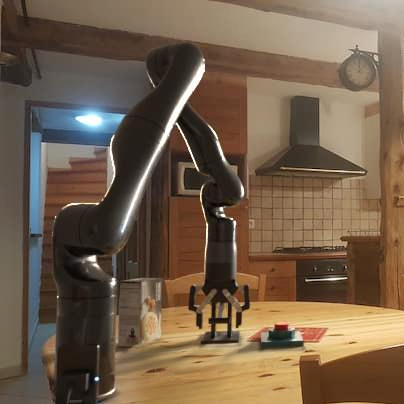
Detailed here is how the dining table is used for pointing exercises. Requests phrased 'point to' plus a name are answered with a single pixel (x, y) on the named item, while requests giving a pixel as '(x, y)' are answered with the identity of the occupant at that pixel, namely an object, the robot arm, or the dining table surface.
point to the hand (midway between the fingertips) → (219, 328)
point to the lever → (220, 315)
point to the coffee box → (139, 311)
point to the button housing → (281, 338)
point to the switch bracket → (221, 336)
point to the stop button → (281, 326)
